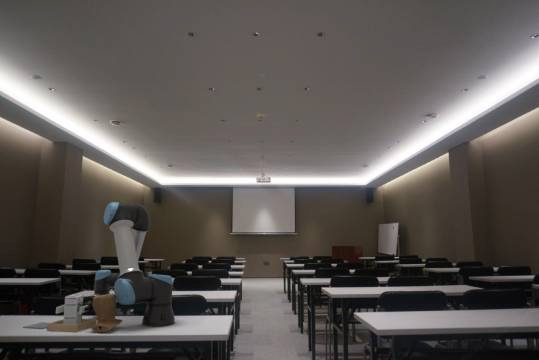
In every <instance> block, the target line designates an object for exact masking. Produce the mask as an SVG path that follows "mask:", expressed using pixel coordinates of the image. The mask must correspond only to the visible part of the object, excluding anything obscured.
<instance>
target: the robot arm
mask: <svg viewBox="0 0 539 360" xmlns="http://www.w3.org/2000/svg"><path fill="white" fill-rule="evenodd" d="M148 211H149V210H148V209H146V207H145V206H144V205H141V204H139V203H131V202H130V203H129V202H127V203H126V202H118V201H117V202H113V201H112V202H110V203H108V204H107V206H106V207H105V210H104V214H103V222H104V223H103V224H105V225H107V226H109V230H110V231H111V232H113V236H114V242H115V247H116V248H115V249H116V255H117V260H118V268H119V272H112V271H111V270H110V269H100V270H97V271H96V272H95V278H94V291H93V294H91V295H87V296H86V297H85V298H84V297H83V307H80V312H79V314H81V313H82V314H84V313H86V312H88V313H90V312H95V310H94V307H93V298H94V297H97V296H101V295H106V294H111V293H110V291H111V290H110V289H111V288H113V291H114V292H113V294H114V295H115V297H116V302H118V303H119V304H120V305H126V306H127V305H129V306H131V305H137V304H143V303H144V304H145V303H146V308H145V312H144V314H143V317H142V322H141V324H142V325H141V326H145V327H164V326H171V325H173V324H175V321H176V318H175V314H174V310H173V308H172V302H173V301H172V299H173V286H174V282H173V277H172V276H171V275H167V274H166V275H165V274H155V273H149V274H148V275H147V276H146V277H145V276H144V272H143V271H142V270H140V267H139V259H140V255H141V252H142V248H143V244H144V242H145V237H146V234H147V232H149V230H150V227H151V217H150V212H148ZM58 305H59V306H56V307H55V308H56V309H55V314H56V315H57V314H60V313H64V307H65V303H64V304H63V303H62V304H58Z"/></svg>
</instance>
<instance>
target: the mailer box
mask: <svg viewBox="0 0 539 360" xmlns="http://www.w3.org/2000/svg"><path fill="white" fill-rule="evenodd" d="M63 321H64V318H63V319H61V320H57V321H53V322H47V323H48V325H47V328H46V331H47V332H65V333H78V332H81V331H85V330H88V329H91V328H92V327H94V326H95V325H96V324H97V323H98V319H97V318H82V323H81V324H78V325H73V324H63Z"/></svg>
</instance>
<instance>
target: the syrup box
mask: <svg viewBox="0 0 539 360" xmlns="http://www.w3.org/2000/svg"><path fill="white" fill-rule="evenodd" d="M83 300H84V295H83V294H72V295H68V296H65V297H64V304H65V307H64V312H63V319H64V321H63V324H73V325H78V324H81V323H82V319H83V313H81V314H79V312H80V307H83Z"/></svg>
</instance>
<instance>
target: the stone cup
mask: <svg viewBox="0 0 539 360" xmlns="http://www.w3.org/2000/svg"><path fill="white" fill-rule="evenodd" d="M93 307H94V310H95V311H94V312H95V315H96V319H98V323H97V324H96V325H95V326H94V327H91V328H90V329H91V330H92V331H93V332H97V333H104V332H108V331H110V330H112V329H113V328H115V327H117V326H118V325H120V324H121V323H122V322H123V319H121V318H116V316H115V315H116V309H117V300H116V297H115V294H114V292H113V293H112V292H111V293H110V294H106V295H101V296H97V297H94V298H93Z"/></svg>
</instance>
